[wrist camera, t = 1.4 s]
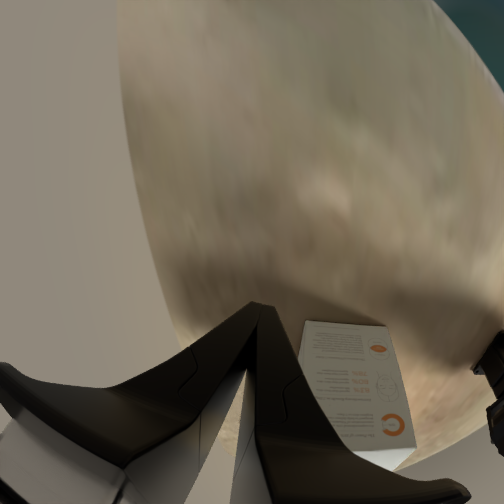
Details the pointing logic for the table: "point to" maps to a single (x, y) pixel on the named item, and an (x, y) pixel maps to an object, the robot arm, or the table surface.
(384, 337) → the small box
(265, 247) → the table surface
